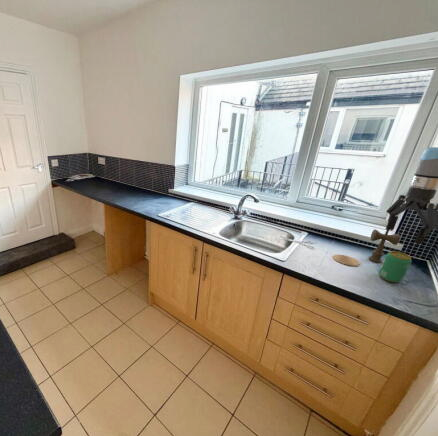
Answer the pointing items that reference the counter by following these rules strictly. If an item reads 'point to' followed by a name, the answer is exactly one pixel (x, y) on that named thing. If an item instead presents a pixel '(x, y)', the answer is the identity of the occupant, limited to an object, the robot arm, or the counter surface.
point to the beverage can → (395, 266)
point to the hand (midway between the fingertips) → (402, 235)
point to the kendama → (382, 243)
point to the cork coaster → (346, 260)
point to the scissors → (302, 243)
